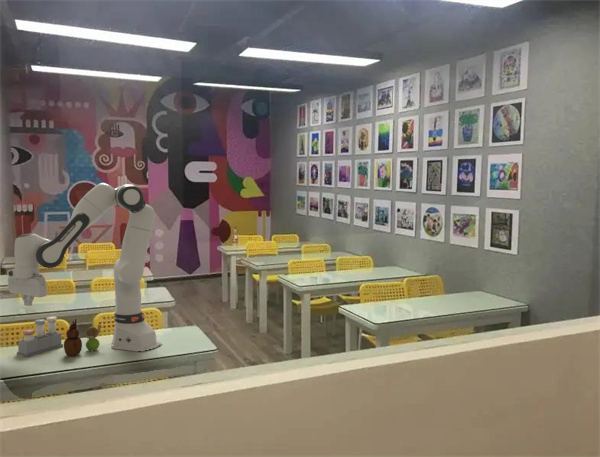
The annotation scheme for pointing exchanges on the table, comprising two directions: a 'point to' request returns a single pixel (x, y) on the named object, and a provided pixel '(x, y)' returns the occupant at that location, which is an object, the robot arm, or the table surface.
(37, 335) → the slate plug
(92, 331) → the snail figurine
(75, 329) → the wooden figurine
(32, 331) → the terracotta plug
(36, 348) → the socket board
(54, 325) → the cream plug
